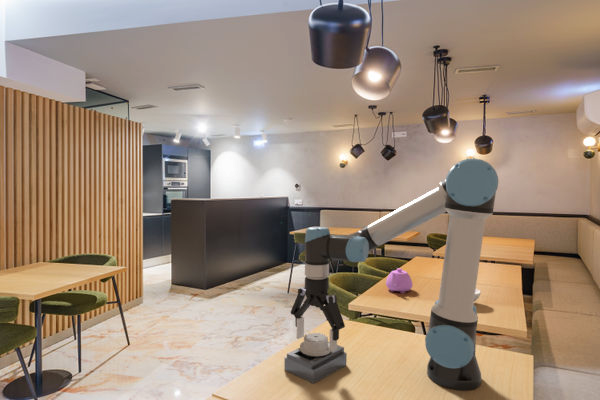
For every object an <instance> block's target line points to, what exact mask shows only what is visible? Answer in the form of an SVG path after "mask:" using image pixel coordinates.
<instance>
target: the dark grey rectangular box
mask: <svg viewBox="0 0 600 400" xmlns="http://www.w3.org/2000/svg"><path fill="white" fill-rule="evenodd" d="M328 343H330V341H328ZM346 366H347V352H345V347H344V346H341V345H338V344H337V349H336V350H334V351H332V352H330V353H329V354H327V355H324V356H309V355H306V354H303V353H302V352H301V351H300V347H299V348H296V349H294V350H292V351H290V352H287V353H286V356H284V366H283V367H284V371H285V372H288V373H290V374H292V375H294V376H296V377H298V378H300V379H303V380H305V381H307V382H309V383H311V384H314V385H315V384H316V383H318V382H319V381H321V380H323V379H325V378H327V377H328V376H330V375H332V374H334V373H335V372H337V371H339V370H341V369H342V368H344V367H346Z"/></svg>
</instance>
